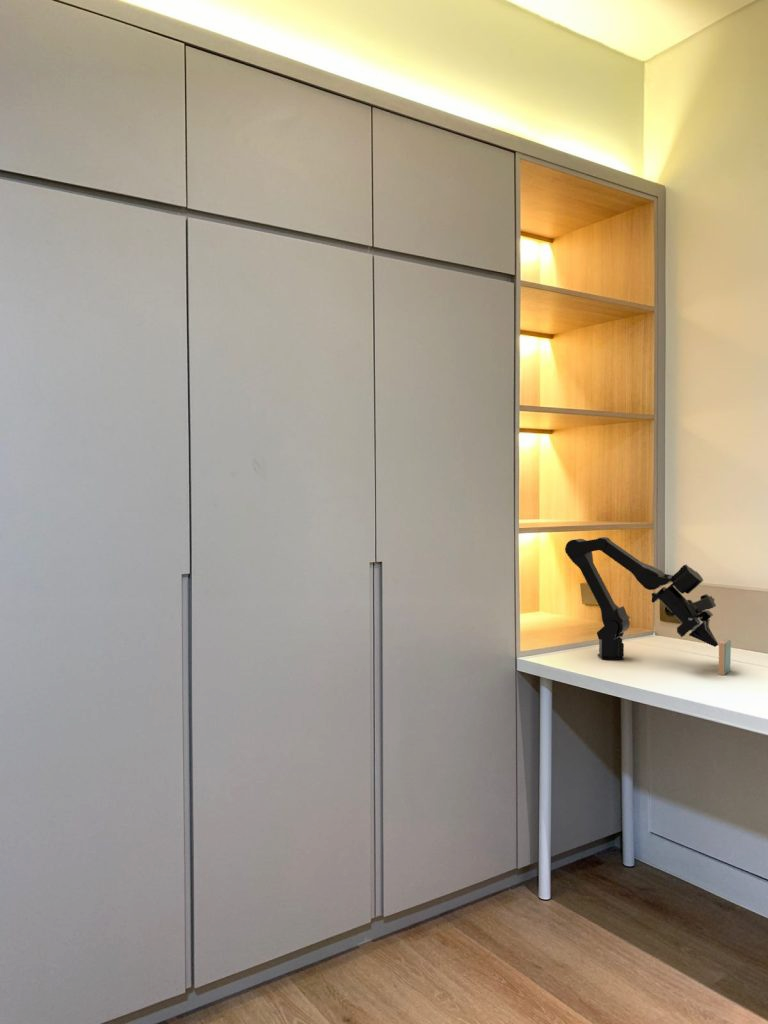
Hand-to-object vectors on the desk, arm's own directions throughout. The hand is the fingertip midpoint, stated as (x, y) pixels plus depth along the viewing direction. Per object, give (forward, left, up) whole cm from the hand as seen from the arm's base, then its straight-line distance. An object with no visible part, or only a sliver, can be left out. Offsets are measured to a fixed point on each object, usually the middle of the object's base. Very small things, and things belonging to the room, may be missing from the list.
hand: (716, 645), depth 221 cm
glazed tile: (+2, -1, -7) cm, 8 cm away
